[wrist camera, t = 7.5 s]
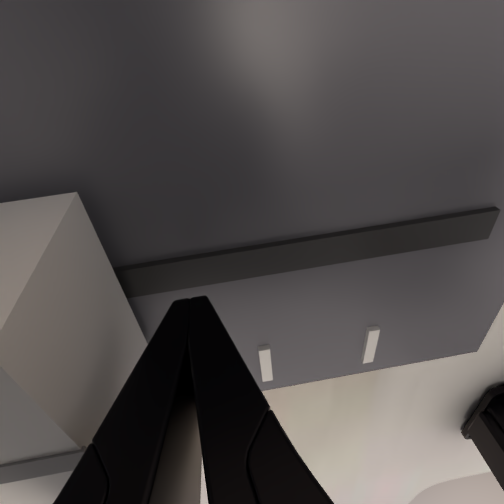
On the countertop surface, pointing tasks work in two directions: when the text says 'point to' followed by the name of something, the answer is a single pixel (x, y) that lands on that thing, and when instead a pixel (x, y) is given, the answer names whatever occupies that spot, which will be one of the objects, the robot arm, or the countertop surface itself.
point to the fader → (56, 343)
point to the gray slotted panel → (275, 165)
